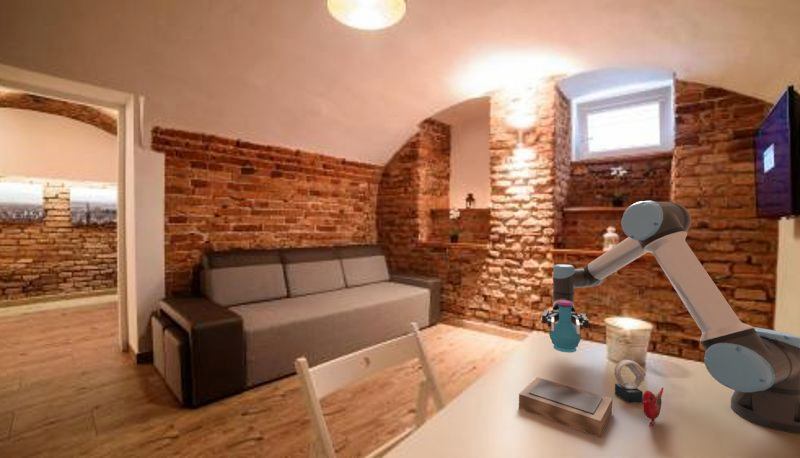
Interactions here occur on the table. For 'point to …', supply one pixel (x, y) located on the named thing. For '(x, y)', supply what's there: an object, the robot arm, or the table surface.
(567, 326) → the perfume bottle
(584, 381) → the table surface
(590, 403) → the walnut stand
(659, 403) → the decorative bird figurine
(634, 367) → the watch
